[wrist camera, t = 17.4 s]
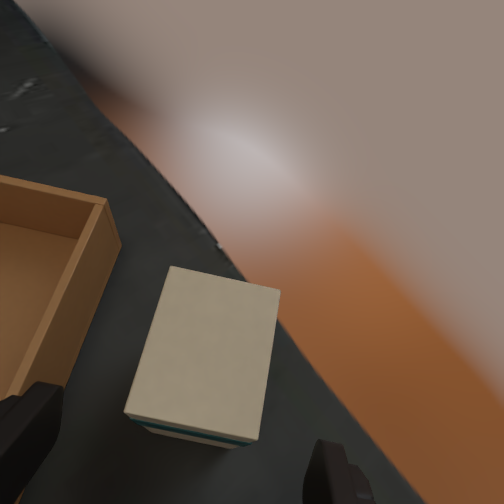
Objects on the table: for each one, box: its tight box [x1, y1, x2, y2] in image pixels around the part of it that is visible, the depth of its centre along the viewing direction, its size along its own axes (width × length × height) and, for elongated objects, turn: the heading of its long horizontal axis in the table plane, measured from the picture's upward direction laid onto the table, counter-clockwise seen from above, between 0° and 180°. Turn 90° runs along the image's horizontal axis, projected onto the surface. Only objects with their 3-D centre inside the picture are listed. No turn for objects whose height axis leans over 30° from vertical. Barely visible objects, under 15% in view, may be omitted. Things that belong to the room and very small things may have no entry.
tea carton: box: [124, 266, 281, 449], centre depth 18 cm, size 6×5×10 cm
